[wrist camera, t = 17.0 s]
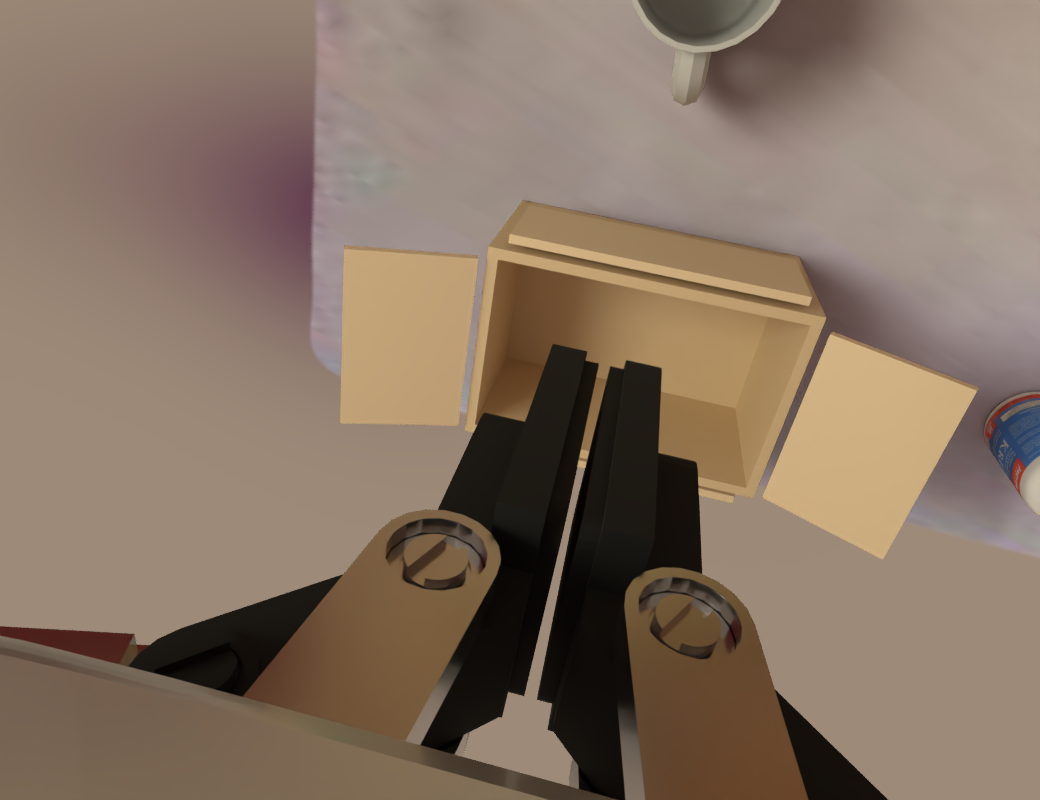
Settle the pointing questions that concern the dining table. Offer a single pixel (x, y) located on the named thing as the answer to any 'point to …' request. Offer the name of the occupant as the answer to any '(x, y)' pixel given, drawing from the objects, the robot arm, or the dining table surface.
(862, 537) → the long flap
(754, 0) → the cup
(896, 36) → the dining table surface
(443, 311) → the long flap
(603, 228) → the carton
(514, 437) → the robot arm
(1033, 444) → the pill bottle
